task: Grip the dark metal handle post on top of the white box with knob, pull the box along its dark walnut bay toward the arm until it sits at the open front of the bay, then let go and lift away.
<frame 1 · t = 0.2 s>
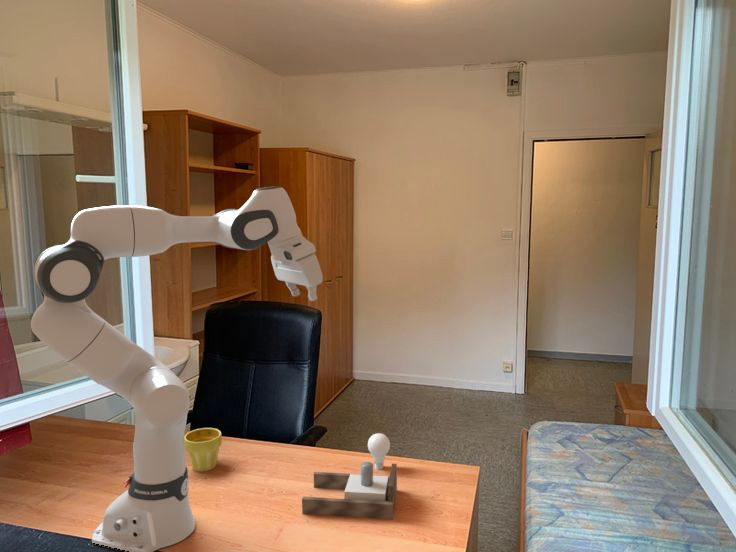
hand: (304, 297, 142), 52 cm above the table, tool tilted 20°, fingers open, 8 cm apart
white box with knob: (367, 483, 138), point 6 cm above the table, slide at 0.0 cm
plant pot: (204, 467, 160), on the table
lightbulb: (378, 471, 157), on the table
bay: (351, 505, 139), on the table
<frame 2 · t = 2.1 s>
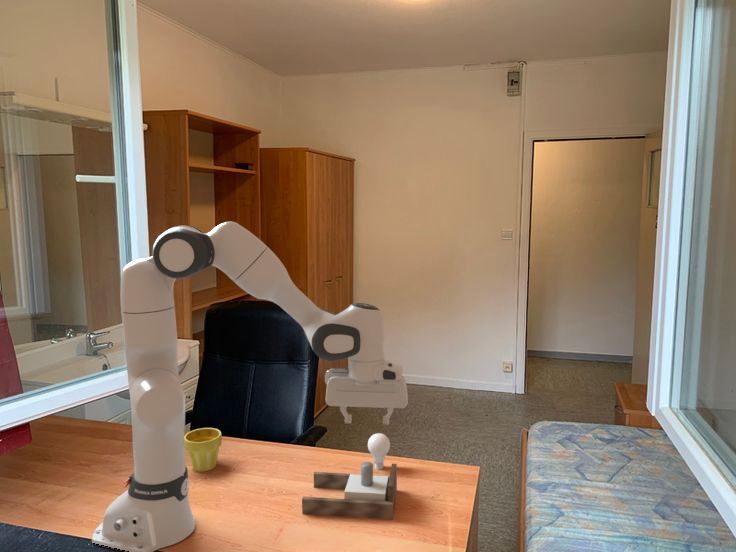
hand: (367, 423, 136), 22 cm above the table, tool pointing down, fingers open, 8 cm apart
nothing on the table moved.
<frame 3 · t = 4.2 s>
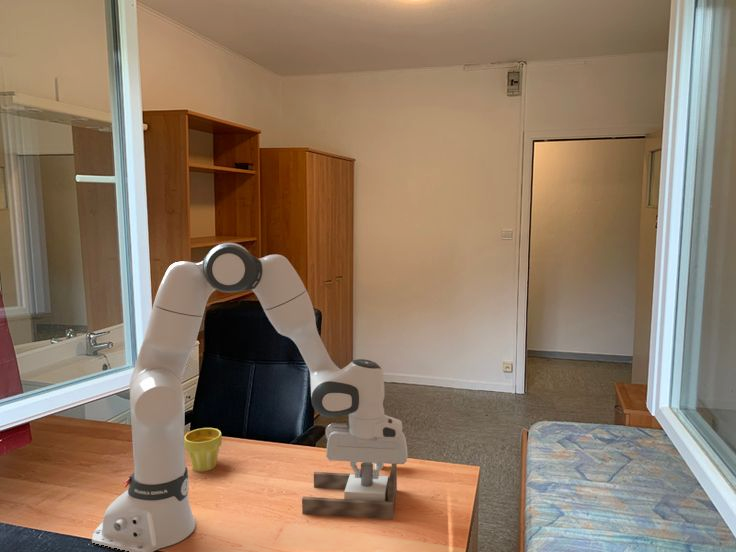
hand: (366, 477, 137), 8 cm above the table, tool pointing down, fingers closed on white box with knob, 3 cm apart
white box with knob: (366, 483, 138), point 6 cm above the table, slide at 0.0 cm, touching gripper
everything else where it was.
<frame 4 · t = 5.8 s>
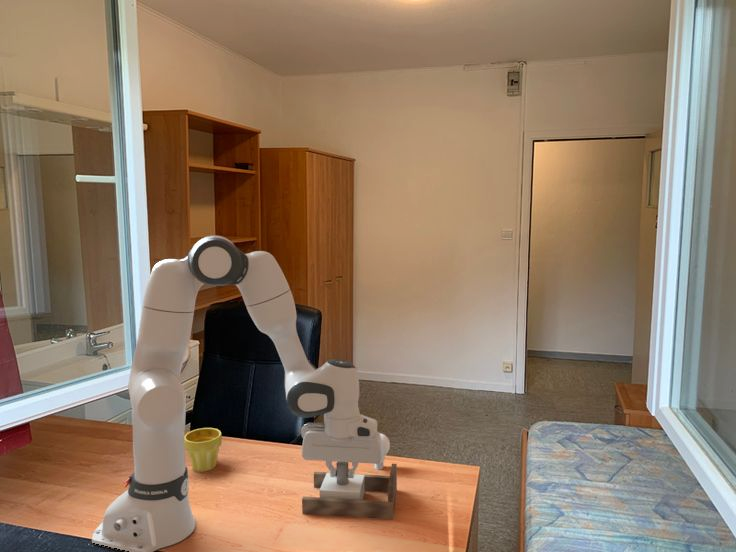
hand: (342, 476, 138), 7 cm above the table, tool pointing down, fingers closed on white box with knob, 3 cm apart
white box with knob: (342, 482, 138), point 6 cm above the table, slide at 6.2 cm, touching gripper
everything else where it was.
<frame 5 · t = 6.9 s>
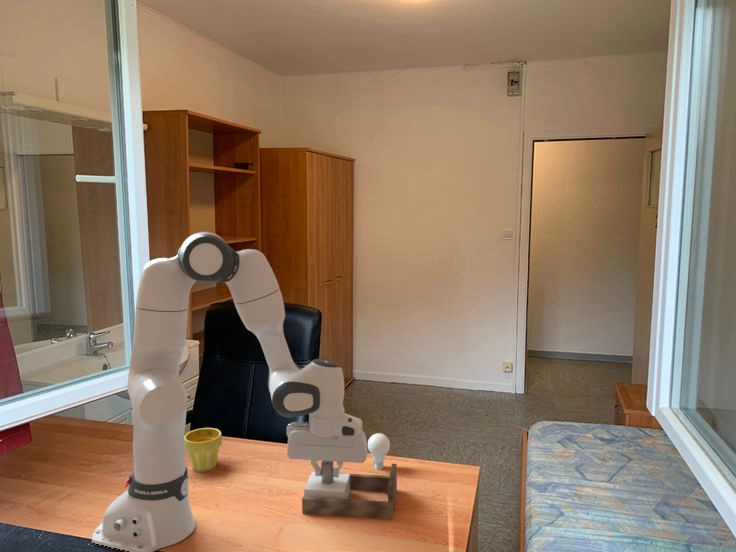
hand: (327, 475, 139), 8 cm above the table, tool pointing down, fingers closed on white box with knob, 3 cm apart
white box with knob: (327, 481, 139), point 6 cm above the table, slide at 10.1 cm, touching gripper
everything else where it was.
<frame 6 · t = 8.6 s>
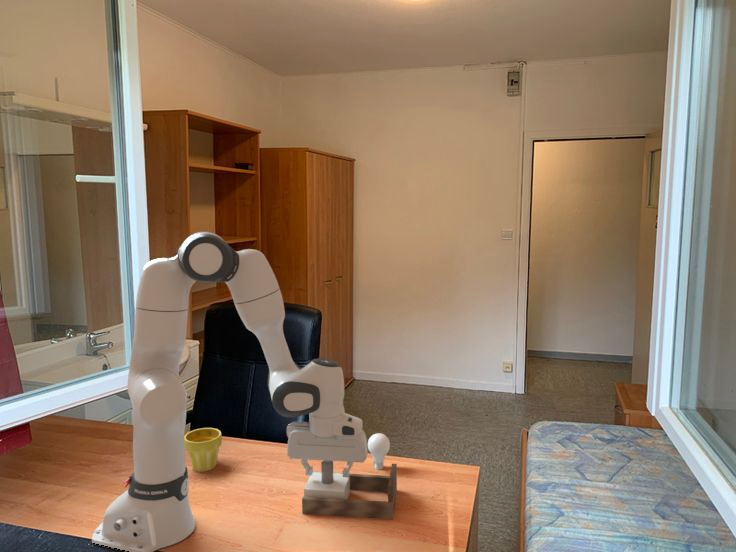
hand: (327, 475, 139), 8 cm above the table, tool pointing down, fingers open, 8 cm apart
white box with knob: (327, 481, 139), point 6 cm above the table, slide at 10.1 cm
everything else where it was.
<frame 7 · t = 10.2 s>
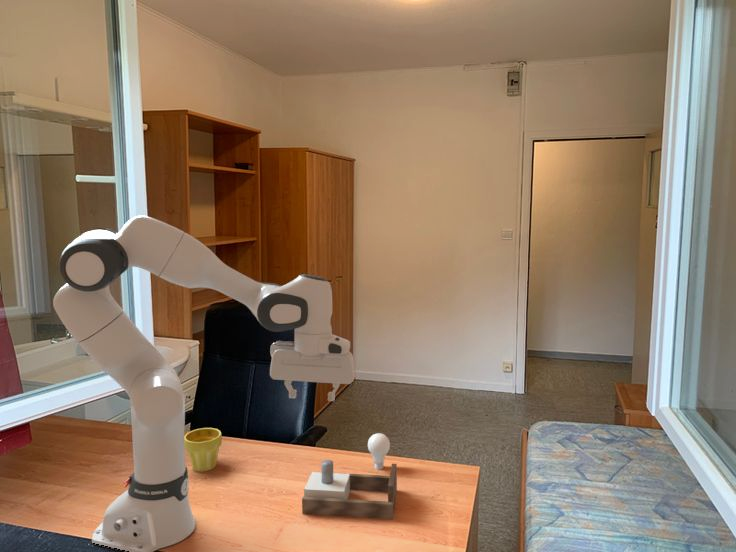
hand: (311, 398, 132), 29 cm above the table, tool pointing down, fingers open, 8 cm apart
nothing on the table moved.
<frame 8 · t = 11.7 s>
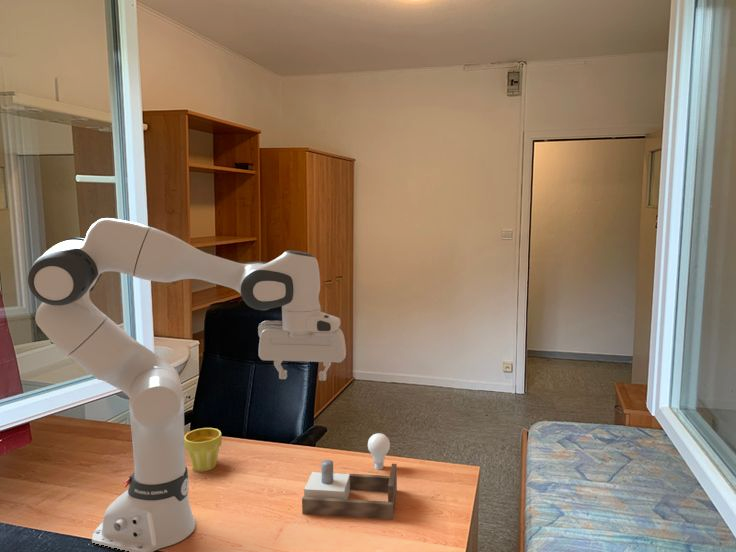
hand: (302, 379, 128), 35 cm above the table, tool pointing down, fingers open, 8 cm apart
nothing on the table moved.
at the end: white box with knob slide at 10.1 cm; the gripper is holding nothing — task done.
